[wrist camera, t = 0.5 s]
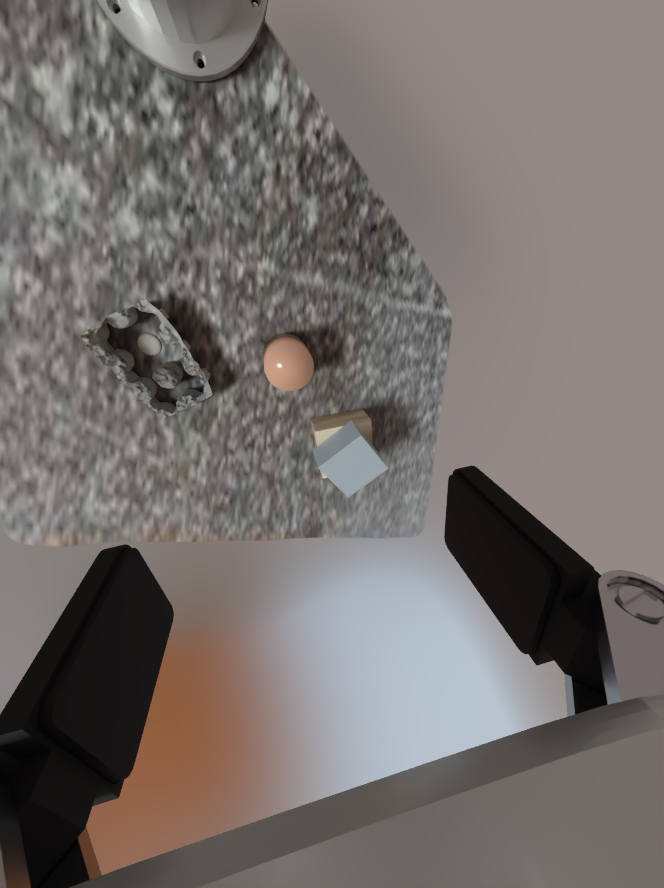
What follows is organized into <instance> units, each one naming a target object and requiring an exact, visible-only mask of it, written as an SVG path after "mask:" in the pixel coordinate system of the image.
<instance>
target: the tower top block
mask: <svg viewBox="0 0 664 888" xmlns="http://www.w3.org/2000/svg"><path fill="white" fill-rule="evenodd" d="M313 453H314V456H315V460H316V463H317V466H318V468H319V469H320V470H321V471H322V472H323V473H324V474H325V475H326V476H327V477H328V478H329V479H330V480H331V481H332V482H333V483H334V484H335V485H336V486H337V487H338V488H339V489H340V490H341V491H342V492H343V493H344V494H345V495H346V496H347V497H350V496H351V495H352V494H354V493H355V492H356V491H358V490H359V489H361V488H362V487H363V486H365V485H366V484H367V483H369V482H370V481H372V480H373V479H374V478H376V477H377V476H378V475H380V474H381V473H383V472H384V471H385V470H387V469H388V467H387V466H386V464H385V462H384V461H383V459H382V458H381V456H380V455H379V453H378V452H377V451H376V449H375V448H374V447H373V446H372V444H371V443H370V442H369V441H368V440H367V438H366V437H365V436H364V435H363V434H362V432H361V431H360V430H359V429H358V427H357V426H356V425H355V424H354V423H353V421H352V420H351V421H350V422H348V423H347V424H346V425H344V426H343V427H342V428H341V429H339V430H338V431H337V432H335V433H334V434H333V435H332V436H330V437H329V438H328V439H326V440H325V441H324V442H322V443H321V444H320V445H319V446H317V447H316V448H315V449H313Z"/></svg>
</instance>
